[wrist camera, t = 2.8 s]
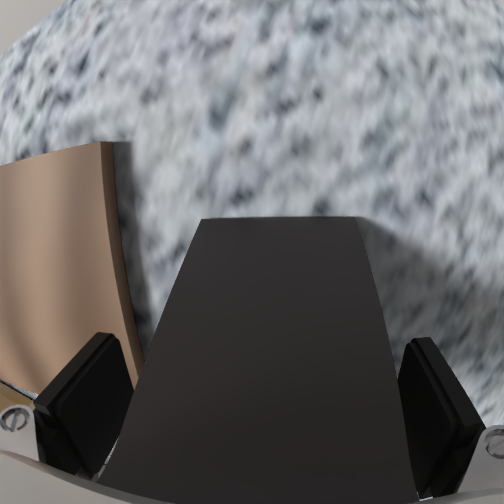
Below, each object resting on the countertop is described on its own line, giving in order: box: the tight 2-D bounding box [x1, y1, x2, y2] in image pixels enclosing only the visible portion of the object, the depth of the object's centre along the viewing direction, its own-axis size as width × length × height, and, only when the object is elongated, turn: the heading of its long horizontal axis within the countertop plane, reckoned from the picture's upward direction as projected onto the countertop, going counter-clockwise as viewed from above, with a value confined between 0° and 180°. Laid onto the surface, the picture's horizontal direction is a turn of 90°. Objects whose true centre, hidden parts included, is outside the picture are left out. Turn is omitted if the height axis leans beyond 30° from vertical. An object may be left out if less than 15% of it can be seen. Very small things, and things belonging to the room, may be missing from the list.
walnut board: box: [0, 141, 144, 394], centre depth 15 cm, size 16×15×1 cm
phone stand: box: [96, 217, 419, 504], centre depth 8 cm, size 9×6×12 cm, turn 2°
